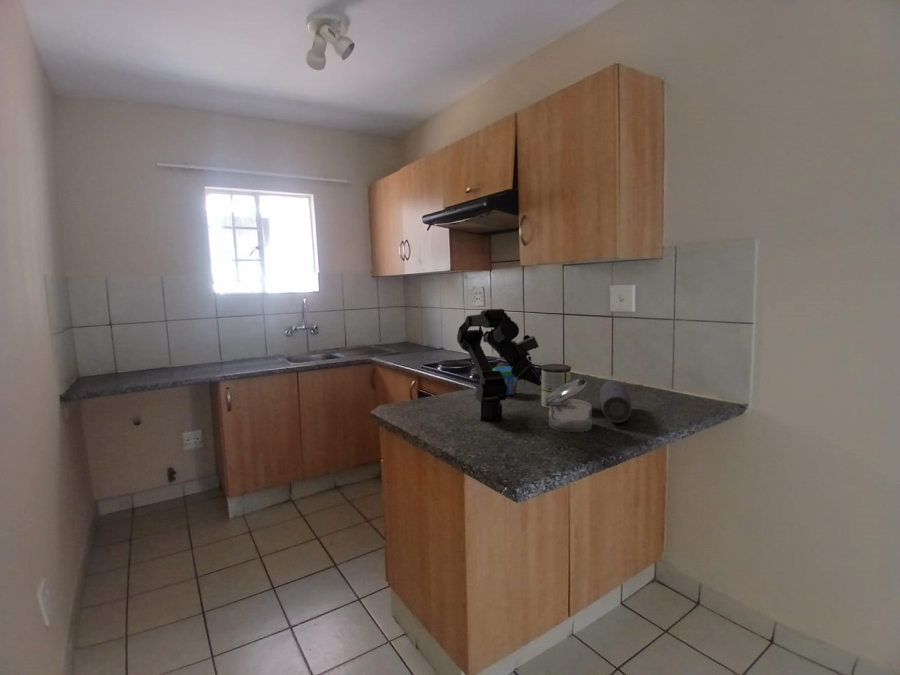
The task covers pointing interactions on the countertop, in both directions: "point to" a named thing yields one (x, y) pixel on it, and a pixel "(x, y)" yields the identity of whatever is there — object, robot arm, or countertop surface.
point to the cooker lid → (566, 391)
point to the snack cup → (508, 379)
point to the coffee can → (553, 379)
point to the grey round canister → (571, 416)
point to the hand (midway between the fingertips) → (540, 381)
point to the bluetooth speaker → (615, 401)
